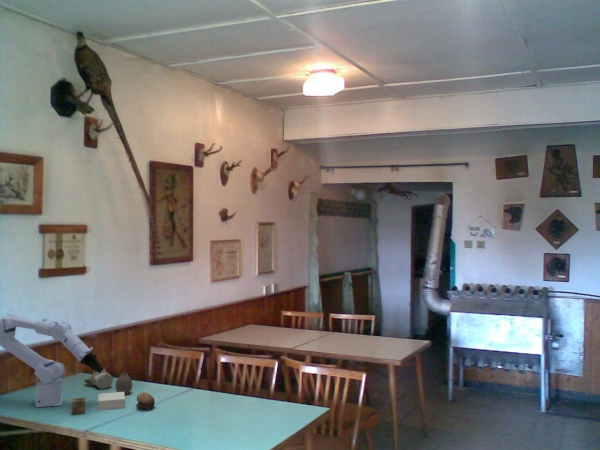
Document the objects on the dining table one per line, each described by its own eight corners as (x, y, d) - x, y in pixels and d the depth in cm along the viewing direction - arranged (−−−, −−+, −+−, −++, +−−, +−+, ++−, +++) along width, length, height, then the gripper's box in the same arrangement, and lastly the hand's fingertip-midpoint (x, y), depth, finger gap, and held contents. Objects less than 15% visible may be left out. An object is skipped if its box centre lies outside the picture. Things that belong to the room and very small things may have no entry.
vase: (129, 396, 245) (129, 375, 245) (113, 395, 245) (113, 375, 245) (134, 391, 252) (134, 371, 252) (118, 391, 252) (118, 370, 252)
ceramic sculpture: (95, 371, 250) (82, 366, 262) (95, 391, 250) (82, 386, 261) (118, 368, 257) (105, 363, 269) (118, 387, 257) (105, 382, 268)
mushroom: (128, 400, 229) (138, 387, 229) (141, 403, 236) (151, 390, 236) (138, 414, 225) (148, 401, 225) (151, 416, 231) (161, 403, 231)
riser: (97, 411, 227) (98, 400, 227) (98, 403, 236) (98, 393, 236) (124, 409, 230) (124, 398, 230) (124, 401, 239) (124, 391, 239)
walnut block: (71, 415, 221) (72, 402, 221) (72, 411, 225) (72, 398, 225) (84, 414, 222) (84, 401, 222) (85, 410, 226) (85, 397, 226)
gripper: (81, 336, 227) (105, 361, 225) (87, 341, 240) (110, 364, 239) (66, 350, 224) (91, 375, 223) (73, 354, 238) (96, 377, 236)
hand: (100, 370), depth 231 cm, fingers open, 7 cm apart
